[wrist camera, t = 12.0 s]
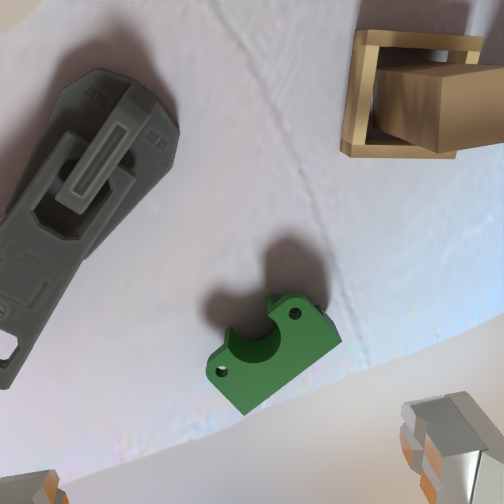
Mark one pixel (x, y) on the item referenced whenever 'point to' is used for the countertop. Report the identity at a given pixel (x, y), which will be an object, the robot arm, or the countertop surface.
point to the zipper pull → (76, 195)
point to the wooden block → (441, 104)
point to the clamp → (272, 352)
